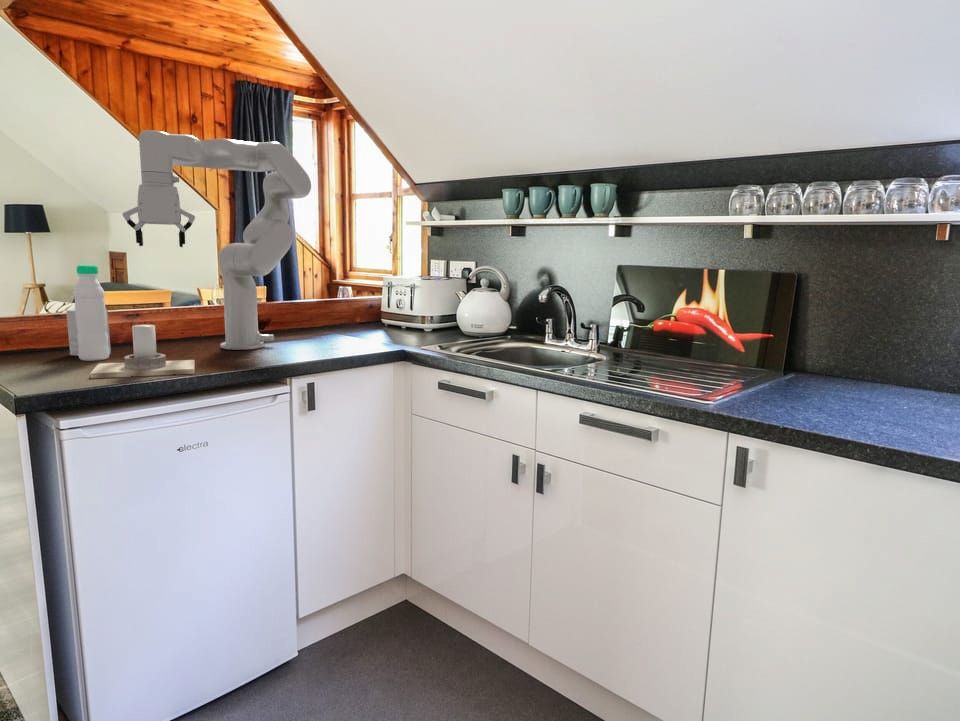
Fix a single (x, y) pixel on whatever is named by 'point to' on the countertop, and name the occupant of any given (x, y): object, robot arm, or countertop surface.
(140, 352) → the white round post
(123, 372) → the board
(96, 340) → the milk bottle
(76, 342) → the supplement box
